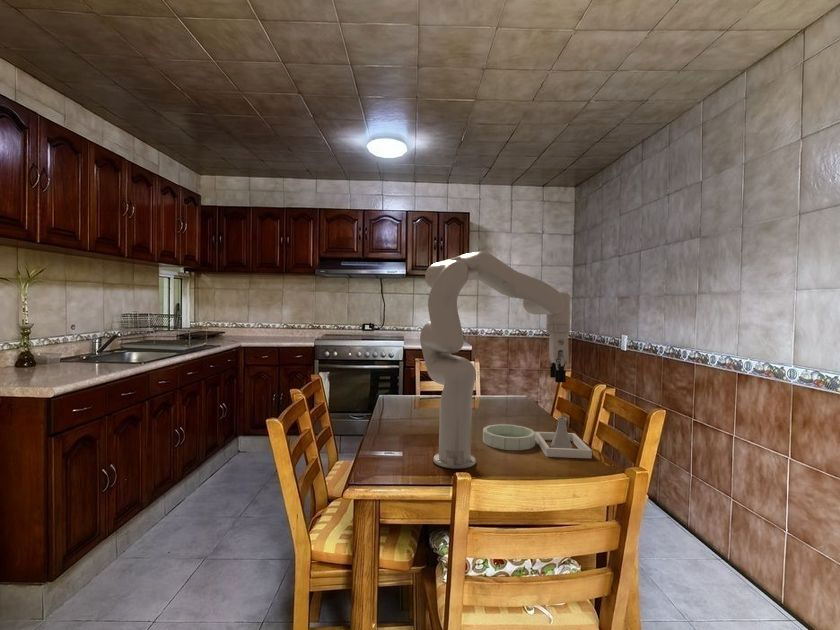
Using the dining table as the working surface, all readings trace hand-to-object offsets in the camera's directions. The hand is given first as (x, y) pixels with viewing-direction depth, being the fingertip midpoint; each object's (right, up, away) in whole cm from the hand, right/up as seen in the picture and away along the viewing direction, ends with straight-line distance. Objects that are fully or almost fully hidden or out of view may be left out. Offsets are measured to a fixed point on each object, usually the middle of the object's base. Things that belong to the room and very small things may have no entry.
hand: (557, 379), depth 157 cm
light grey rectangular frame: (+1, -23, -1) cm, 23 cm away
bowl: (-16, -22, +4) cm, 28 cm away
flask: (+1, -23, -1) cm, 23 cm away
